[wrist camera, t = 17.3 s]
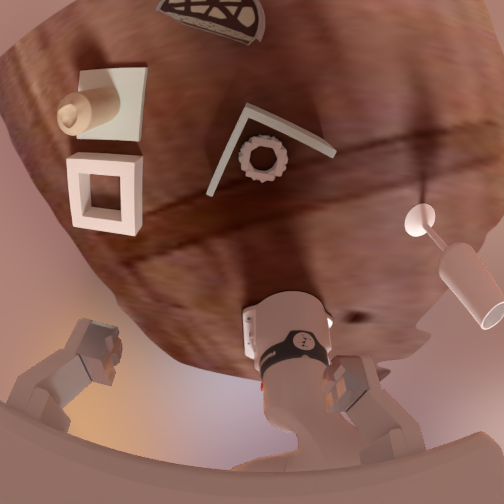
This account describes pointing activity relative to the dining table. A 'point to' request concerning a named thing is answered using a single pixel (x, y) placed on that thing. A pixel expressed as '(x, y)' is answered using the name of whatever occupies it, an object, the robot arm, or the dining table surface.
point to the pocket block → (130, 184)
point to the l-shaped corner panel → (265, 145)
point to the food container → (219, 17)
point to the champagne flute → (461, 270)
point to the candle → (87, 110)
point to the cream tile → (131, 101)
